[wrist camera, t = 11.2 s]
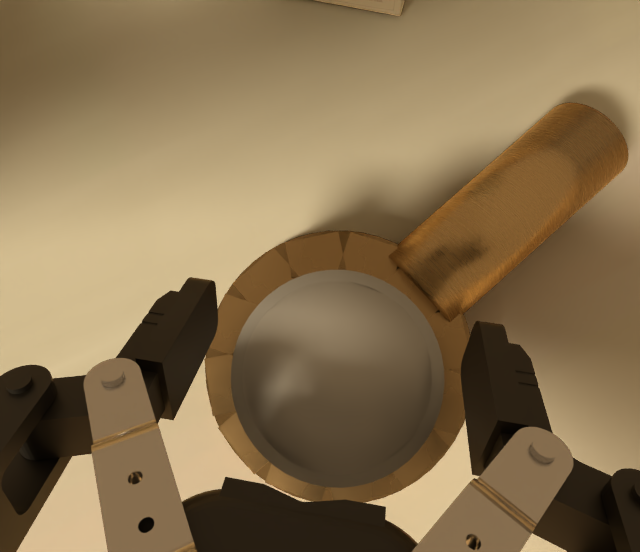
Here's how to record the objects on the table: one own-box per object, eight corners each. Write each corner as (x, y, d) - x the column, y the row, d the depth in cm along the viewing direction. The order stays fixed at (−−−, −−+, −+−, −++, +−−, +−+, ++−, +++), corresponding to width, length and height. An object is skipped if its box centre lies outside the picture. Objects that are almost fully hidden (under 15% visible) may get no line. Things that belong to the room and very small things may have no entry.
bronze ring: (160, 347, 22) (119, 346, 18) (475, 77, 23) (500, 21, 19) (325, 558, 20) (320, 609, 16) (660, 251, 21) (730, 228, 17)
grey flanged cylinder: (258, 354, 21) (189, 362, 12) (348, 276, 21) (346, 227, 12) (336, 450, 20) (324, 536, 11) (429, 368, 20) (490, 388, 11)
